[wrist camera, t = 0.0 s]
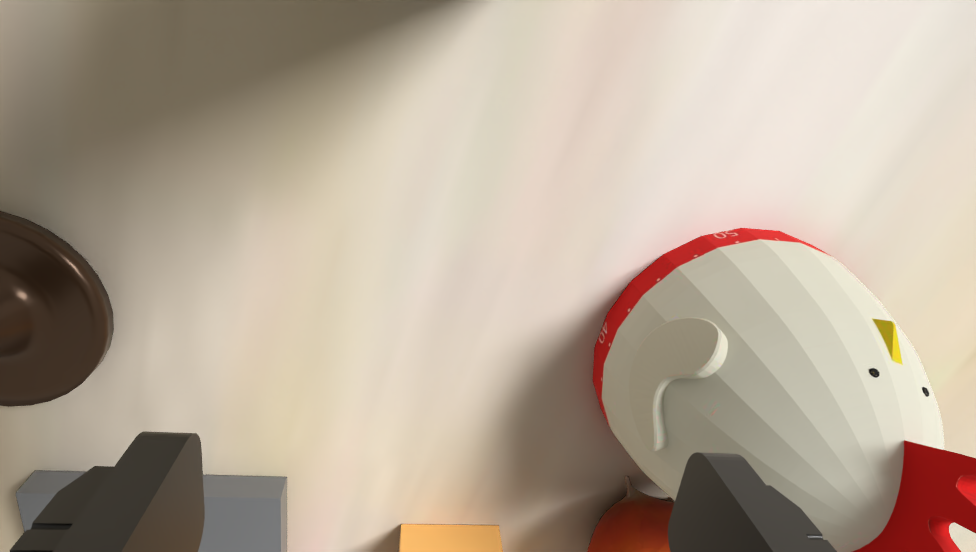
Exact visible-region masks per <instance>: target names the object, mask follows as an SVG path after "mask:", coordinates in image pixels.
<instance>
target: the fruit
mask: <svg viewBox="0 0 976 552" xmlns="http://www.w3.org/2000/svg"><path fill="white" fill-rule="evenodd" d="M625 480H626V485H627V494H626V496H625V497H624V498H623V499H622V500H621V501H619V502H617V503H615V504H614V505H613V506H612V507H611V508H610V509H609V510H608V511H607V512H606V513H605V514H604V515H603V516H602V517H601V519H600V520H599V522H598V524H597V526H596V527H595V530H594V533H593V535H592V538H591V541H590V544H589V547H588V551H587V552H670V548H669V542H668V524H669V519H670V516H671V513H672V509H673V506H674V503H675V501H673V502H670V501H664V500H660V499H657V498H654V497H651V496H648V495H646V494H644V493H642V492H640V491H638V490H637V489H635V488H633V487H632V486H631V483H630V480H629V477H626V476H625Z"/></svg>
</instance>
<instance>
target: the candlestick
mask: <svg viewBox="0 0 976 552" xmlns="http://www.w3.org/2000/svg"><path fill="white" fill-rule="evenodd" d="M113 330H114V328H113V311H112V308H111V304H110V301H109V297H108V294H107V292H106V290H105V288H104V286H103V284H102V282H101V280H100V278H99V277H98V275H97V274H96V273H95V271H94V270H93V269H92V268H91V266H90V265H89V264H88V262H87V261H86V260H85V259H84V258H83V257H82V256H81V255H80V254H79V253H78V252H77V251H76V250H74V249H73V248H72V247H71V246H70V245H69V244H68V243H67V242H65V241H64V240H62V239H61V238H59V237H58V236H56V235H55V234H53V233H52V232H50V231H49V230H47V229H45V228H43V227H41V226H39V225H37V224H35V223H33V222H30V221H28V220H26V219H24V218H21V217H17V216H14V215H11V214H8V213H4V212H1V211H0V406H26V405H34V404H38V403H43V402H48V401H51V400H53V399H56V398H58V397H61V396H63V395H65V394H67V393H69V392H70V391H72V390H73V389H75V388H76V387H77V386H79V385H80V384H82V383H83V382H84V381H85V379H86V378H87V377H88V376H89V375H90V374H91V373H92V372H93V371H94V370H95V369H96V368H97V366H98V365H99V364H100V363H101V362H102V361H103V359H104V357H105V355H106V353H107V351H108V349H109V347H110V344H111V340H112V335H113Z"/></svg>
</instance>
